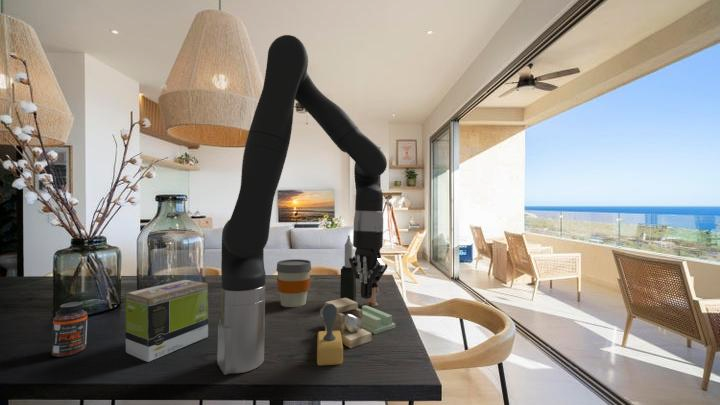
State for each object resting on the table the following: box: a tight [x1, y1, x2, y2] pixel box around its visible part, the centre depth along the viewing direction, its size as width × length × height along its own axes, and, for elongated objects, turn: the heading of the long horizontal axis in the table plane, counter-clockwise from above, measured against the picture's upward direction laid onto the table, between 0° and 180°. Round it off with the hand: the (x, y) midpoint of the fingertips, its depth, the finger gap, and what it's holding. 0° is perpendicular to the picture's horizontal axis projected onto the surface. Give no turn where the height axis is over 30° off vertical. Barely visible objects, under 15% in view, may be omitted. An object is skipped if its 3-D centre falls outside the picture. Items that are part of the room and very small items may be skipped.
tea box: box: [124, 279, 209, 363], centre depth 75 cm, size 15×10×15 cm, turn 152°
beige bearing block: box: [324, 298, 373, 349], centre depth 81 cm, size 7×12×8 cm, turn 39°
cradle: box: [361, 304, 397, 335], centre depth 91 cm, size 8×13×4 cm, turn 39°
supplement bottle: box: [51, 301, 88, 358], centre depth 71 cm, size 6×6×11 cm
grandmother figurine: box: [366, 282, 380, 307], centre depth 109 cm, size 8×4×13 cm, turn 58°
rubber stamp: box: [316, 304, 344, 366], centre depth 72 cm, size 10×6×12 cm, turn 7°
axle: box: [319, 304, 361, 333], centre depth 84 cm, size 14×4×4 cm, turn 40°
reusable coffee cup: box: [276, 258, 312, 308], centre depth 110 cm, size 13×13×15 cm
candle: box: [339, 235, 357, 302], centre depth 110 cm, size 5×5×25 cm
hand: (366, 297), depth 75 cm, fingers closed
